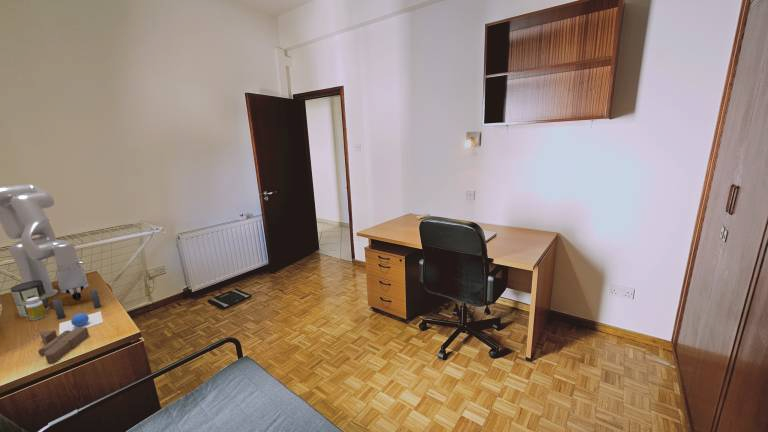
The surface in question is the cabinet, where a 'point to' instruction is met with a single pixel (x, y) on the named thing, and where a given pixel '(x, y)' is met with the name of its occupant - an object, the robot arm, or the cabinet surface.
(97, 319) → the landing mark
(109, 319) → the cabinet surface
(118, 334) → the cabinet surface
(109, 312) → the cabinet surface
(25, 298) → the coffee can
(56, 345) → the wooden block set
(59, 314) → the post
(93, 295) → the post
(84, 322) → the ball
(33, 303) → the supplement bottle
